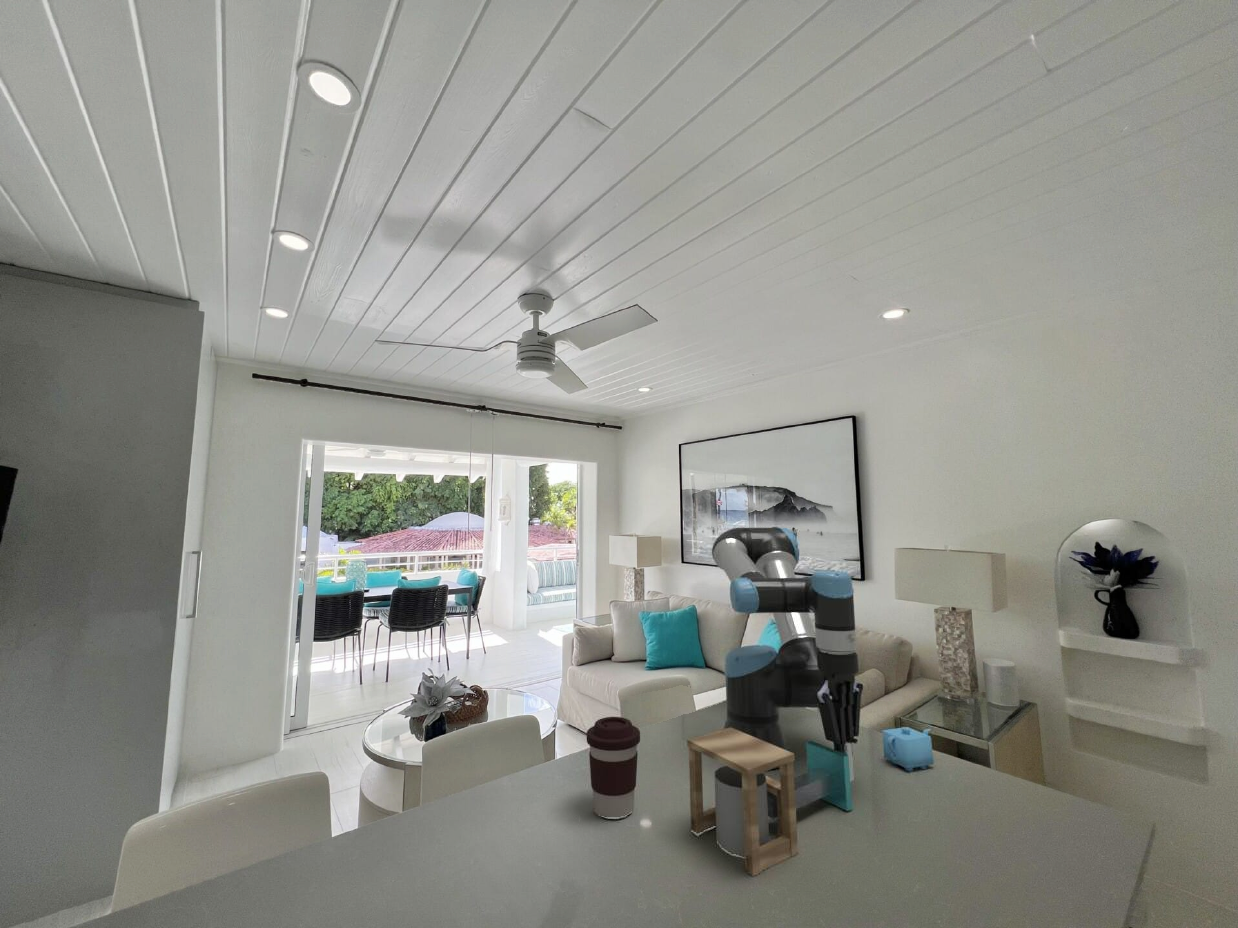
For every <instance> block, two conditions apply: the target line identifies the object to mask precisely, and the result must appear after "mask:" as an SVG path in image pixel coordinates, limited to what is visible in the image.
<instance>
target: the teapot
mask: <svg viewBox="0 0 1238 928" xmlns="http://www.w3.org/2000/svg"><path fill="white" fill-rule="evenodd" d="M931 730H932V729H931V728H926V729H924V730H923V731H922V732H921V731H918V730H916V729H913V728H911V727H909V726H902V727H898V728H890V729H884V730H882V731H881V735H882V745H883V746H882V747H883V756H884V757H883V758H885V759H887V760H889V761H891V763H892V764H893V765H894V764H895V765H898V766H900V767H903V768H904V770H905V771H907V772H914V769H913V768H920V769H921V770H922V769H923V770H926V769H928V768H927V767H926V766H929V765H934V755H933V744H932V737H931V735H929V733H930V732H931Z"/></svg>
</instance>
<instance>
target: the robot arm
mask: <svg viewBox="0 0 1238 928" xmlns="http://www.w3.org/2000/svg"><path fill="white" fill-rule="evenodd" d="M711 556H712V559H713V561H714V563H715V565H716V566H717V567H718V568H719V569H721V570H722V571H724V573H725V575H726V576H727V577H728V579H729V581H730V586H729V598H730V603H731V608H732V609H733V611H734V612H736V613H743V614H744V613H745V614H749V615H751V614H773V618H774V621H775V627H776V629H777V632H778V633H777V634H778V636H779V639H780V640H779V641H780V643H781V645H780V646H779V647H778V650H777V649H776V648H775V647H773V646H772V645H763V644H762V645H759V644H755V645H754V644H752V645H746V646H740V647H737V648H733V649H732V650H730V651H729V652H728V653H727V654H726V656H725V662H724V663H725V664H724V672H723V673H724V676H725V694H726V695H725V696H726V699H725V700H726V702H725V703H726V720H725V724H724V727H723V729H727V728H730V727H731V728H734V729H736V730H738V731H741V732H743V733H746V734H748V735H750V736H753V737H755V738H758V739H760V740H762V741H765V742H767V743H770V744H772V745H774V746H777V747H779V748H782V749H784V750H787V751H789V752H790V748H789V744H788V743H787V742H786V738H785V735H784V732H783V728H782V725H781V722H780V708H787V709H789V708H794V709H795V708H798V709H799V708H803V709H804V708H809V709H811V708H813V709H814V708H816V709H817V708H818V710H819V715H820V718H821V724H822V728H823V733H824V737H825V739H826V741H829V742H832V743H833V749H834V750H837V751H839V752H842V753H845V754H847V755H849V770H850V783H851V782H853V781H855V778H854V777H855V775H854V774H855V773H854V761H853V759H854V758H853V757H854V755H853V753H854V752H853V744H857V743H858V739H857V738H855V737H859V735H860V720H861V705H862V704H861V703H862V694H863V690H864V684H863V683H861V682H860V683H859V682H857V681H856V678H855V675H856V674H857V673H858V672H859V670H860V669H859V658H858V657H859V656H858V654H857V652H856V650H857V649H858V647H857V646H858V645H857V634H856V618H855V605H854V604H855V603H854V602H855V601H854V593H855V592H854V588H853V583H852V582H853V581H852V575H851V574H850V573H849V572H847V571H839V570H817V571H815V572H813V573H812V575H811V576H803V577H796V574H795V572H794V571H795V570H796V568H797V565H798V563H799V561H800V548H799V543H798V540H797V538H796V536H795V534H794V532H793V531H792V530H791V529H788V528H787V527H778V526H772V527H734V528H731V529H729V530H726V531H724V532H722V533H721V534H720V535H719V536H717V538H716V539H715V541H713V544H712V549H711ZM810 613H811V614H814V615H813V616H814V626H813V623H812V620H811V617H810ZM777 769H780V766H778V767H776V768H773V769H770V771H771V770H777Z"/></svg>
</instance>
